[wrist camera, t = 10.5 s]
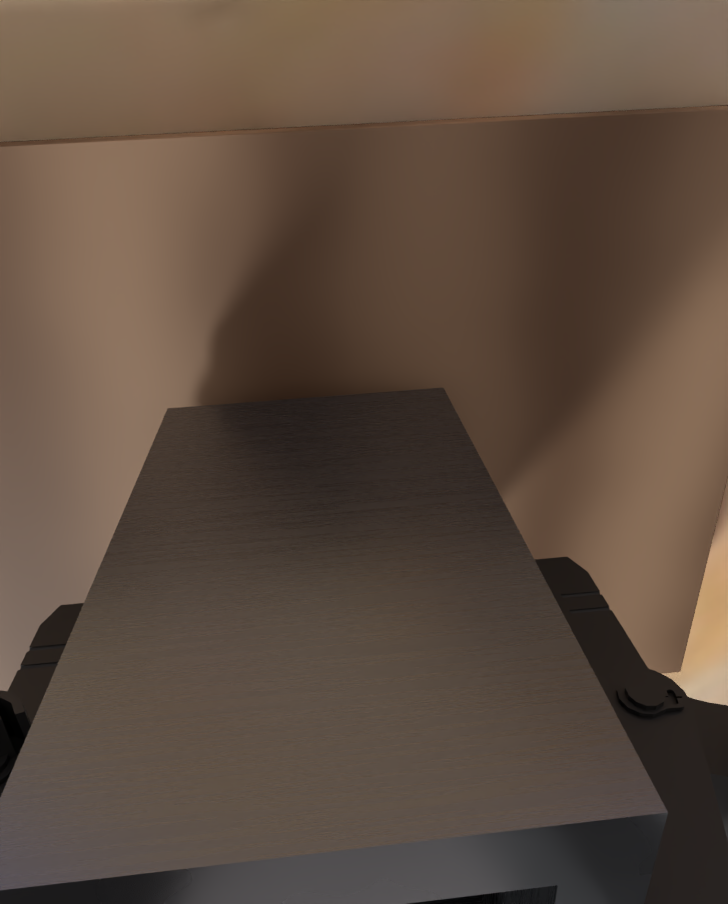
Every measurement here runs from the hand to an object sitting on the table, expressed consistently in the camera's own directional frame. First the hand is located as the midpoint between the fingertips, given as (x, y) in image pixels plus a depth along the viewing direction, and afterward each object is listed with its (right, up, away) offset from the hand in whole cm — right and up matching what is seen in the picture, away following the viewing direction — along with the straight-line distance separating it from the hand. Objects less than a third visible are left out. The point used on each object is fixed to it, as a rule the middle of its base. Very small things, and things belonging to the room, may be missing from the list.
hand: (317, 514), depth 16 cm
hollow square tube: (0, 0, 0) cm, 0 cm away
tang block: (0, +2, +4) cm, 4 cm away
